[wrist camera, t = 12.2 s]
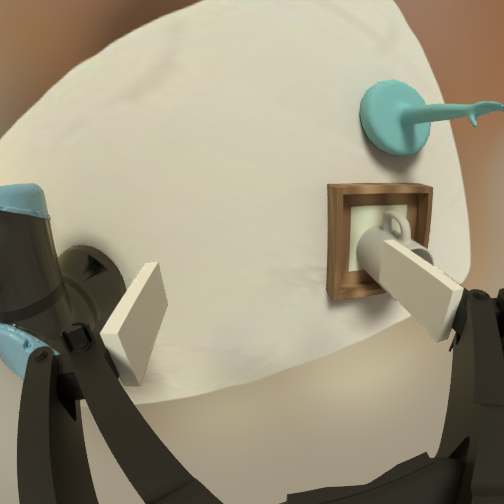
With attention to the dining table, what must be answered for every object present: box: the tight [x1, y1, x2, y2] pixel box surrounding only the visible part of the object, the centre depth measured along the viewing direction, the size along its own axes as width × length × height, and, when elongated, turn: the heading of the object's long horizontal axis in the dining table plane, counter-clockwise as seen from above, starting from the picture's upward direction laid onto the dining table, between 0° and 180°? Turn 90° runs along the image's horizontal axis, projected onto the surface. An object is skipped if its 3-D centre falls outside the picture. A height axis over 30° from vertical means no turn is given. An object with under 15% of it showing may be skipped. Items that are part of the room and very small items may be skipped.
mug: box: [356, 211, 434, 301], centre depth 37 cm, size 12×8×11 cm
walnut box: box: [326, 183, 433, 301], centre depth 42 cm, size 18×18×4 cm
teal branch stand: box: [360, 80, 504, 156], centre depth 25 cm, size 13×12×25 cm
